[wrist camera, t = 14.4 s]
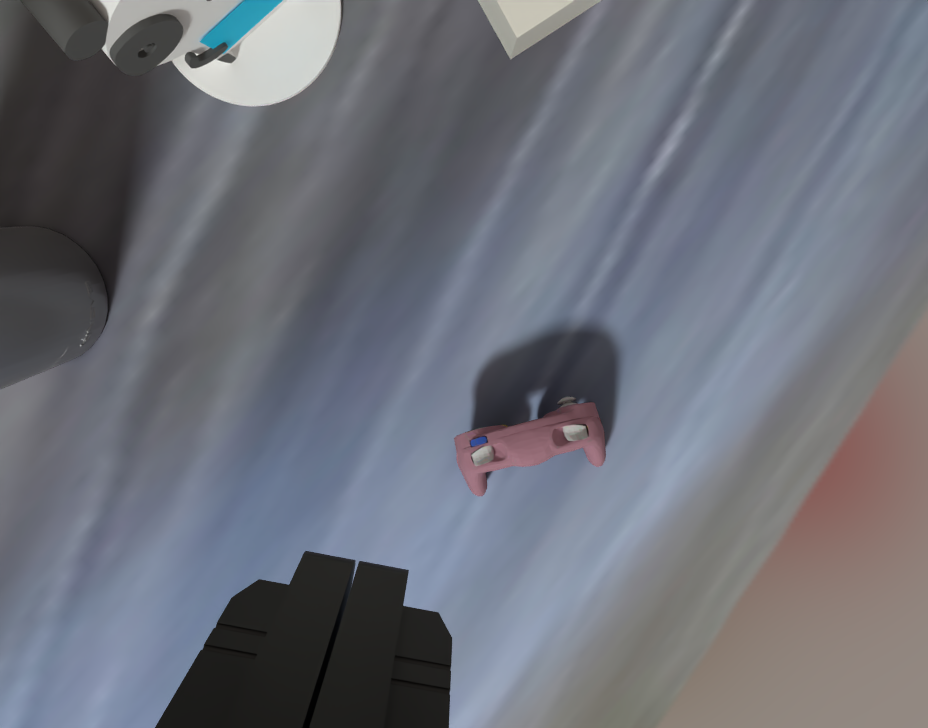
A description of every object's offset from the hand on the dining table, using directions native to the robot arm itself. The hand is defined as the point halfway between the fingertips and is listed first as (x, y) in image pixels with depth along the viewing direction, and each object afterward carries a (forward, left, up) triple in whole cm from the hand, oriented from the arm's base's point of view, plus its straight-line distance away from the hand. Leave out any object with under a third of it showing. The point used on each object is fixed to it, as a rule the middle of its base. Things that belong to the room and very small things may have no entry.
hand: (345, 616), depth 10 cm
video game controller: (+8, -9, -37) cm, 39 cm away
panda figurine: (-15, +14, -37) cm, 42 cm away
